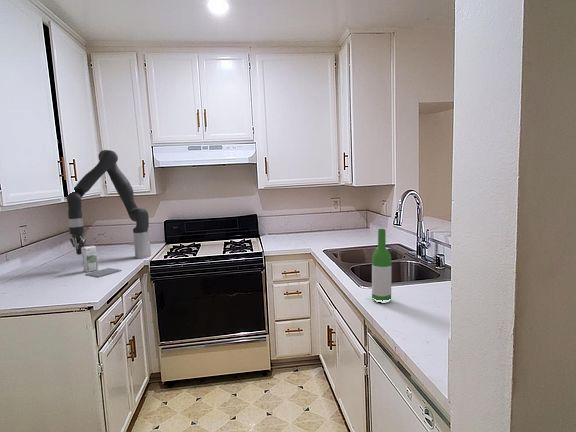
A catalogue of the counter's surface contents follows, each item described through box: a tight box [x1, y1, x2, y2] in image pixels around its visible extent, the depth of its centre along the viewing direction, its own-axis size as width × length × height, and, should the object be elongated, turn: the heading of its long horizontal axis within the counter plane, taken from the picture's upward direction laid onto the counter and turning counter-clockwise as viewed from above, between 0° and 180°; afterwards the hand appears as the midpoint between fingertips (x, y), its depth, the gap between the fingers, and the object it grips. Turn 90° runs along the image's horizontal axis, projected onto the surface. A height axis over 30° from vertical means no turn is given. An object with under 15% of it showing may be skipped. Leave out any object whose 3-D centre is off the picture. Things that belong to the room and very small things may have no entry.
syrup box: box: [81, 245, 99, 273], centre depth 203 cm, size 6×6×14 cm
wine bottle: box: [371, 228, 392, 301], centre depth 141 cm, size 8×8×30 cm
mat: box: [84, 267, 122, 278], centre depth 198 cm, size 14×12×1 cm
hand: (79, 254), depth 208 cm, fingers closed
